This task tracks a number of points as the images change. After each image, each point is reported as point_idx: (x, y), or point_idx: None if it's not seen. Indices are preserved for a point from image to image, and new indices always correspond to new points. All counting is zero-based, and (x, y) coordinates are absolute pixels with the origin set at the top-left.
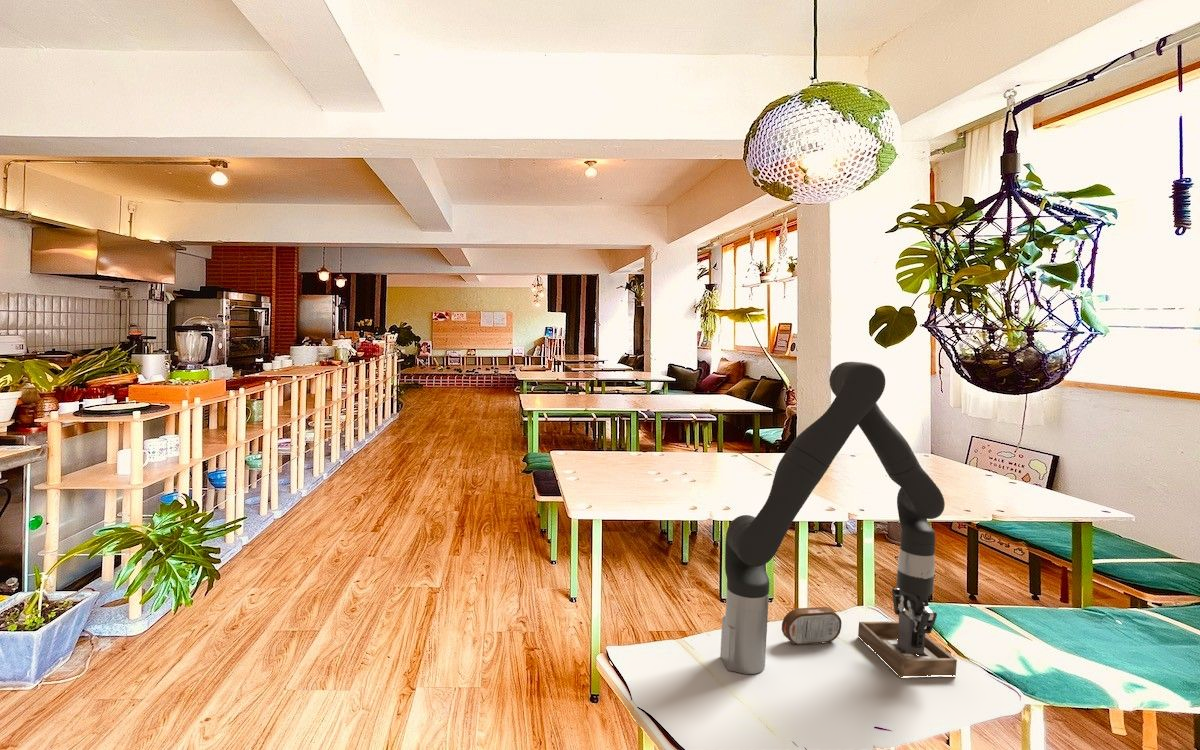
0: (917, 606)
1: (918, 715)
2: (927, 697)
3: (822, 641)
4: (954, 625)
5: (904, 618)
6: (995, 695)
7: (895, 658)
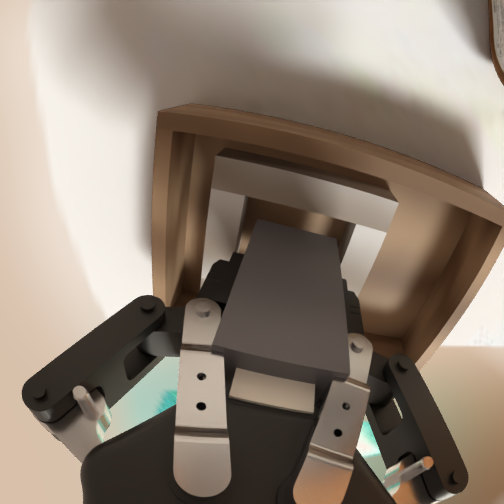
0: (125, 455)
1: (41, 50)
2: (91, 123)
3: (492, 18)
4: (370, 431)
5: (283, 344)
6: (107, 301)
7: (208, 114)
